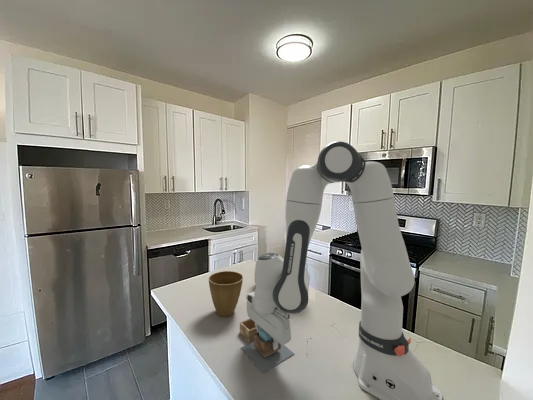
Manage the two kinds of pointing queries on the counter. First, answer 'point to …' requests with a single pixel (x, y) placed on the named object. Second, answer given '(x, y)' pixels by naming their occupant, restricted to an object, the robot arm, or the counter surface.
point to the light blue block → (264, 336)
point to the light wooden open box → (248, 329)
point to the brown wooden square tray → (264, 346)
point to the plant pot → (225, 291)
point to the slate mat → (269, 361)
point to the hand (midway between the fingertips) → (267, 341)
